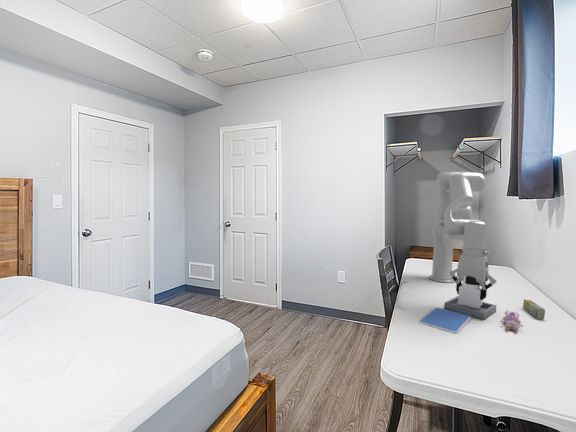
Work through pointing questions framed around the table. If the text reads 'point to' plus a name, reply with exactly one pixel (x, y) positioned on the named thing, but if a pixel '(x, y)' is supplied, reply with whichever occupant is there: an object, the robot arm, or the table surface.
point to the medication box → (534, 309)
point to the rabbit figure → (512, 321)
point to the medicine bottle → (470, 293)
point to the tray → (471, 309)
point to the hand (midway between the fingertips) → (470, 295)
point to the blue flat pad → (445, 320)
